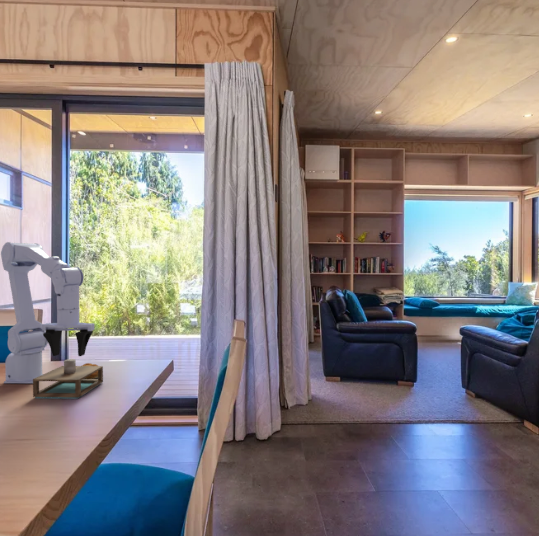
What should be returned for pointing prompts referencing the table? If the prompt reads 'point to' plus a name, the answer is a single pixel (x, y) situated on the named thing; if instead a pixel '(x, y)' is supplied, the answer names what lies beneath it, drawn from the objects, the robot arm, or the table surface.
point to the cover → (68, 379)
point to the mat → (66, 390)
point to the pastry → (94, 375)
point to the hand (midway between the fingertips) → (68, 355)
